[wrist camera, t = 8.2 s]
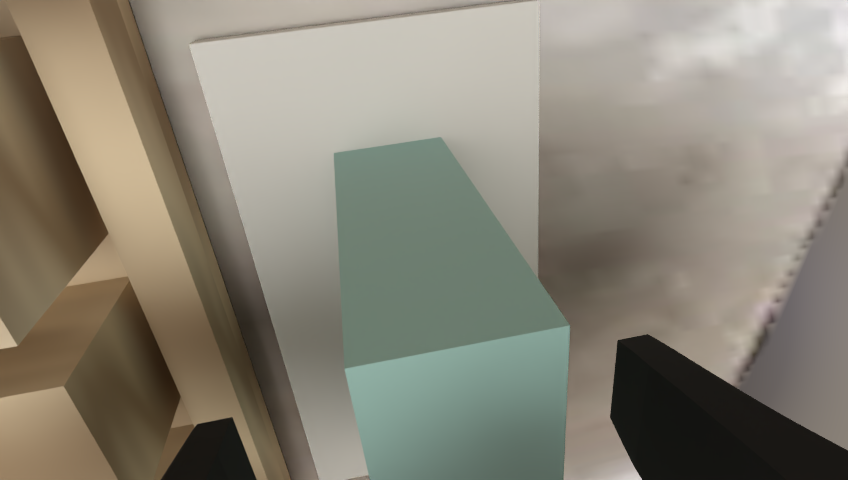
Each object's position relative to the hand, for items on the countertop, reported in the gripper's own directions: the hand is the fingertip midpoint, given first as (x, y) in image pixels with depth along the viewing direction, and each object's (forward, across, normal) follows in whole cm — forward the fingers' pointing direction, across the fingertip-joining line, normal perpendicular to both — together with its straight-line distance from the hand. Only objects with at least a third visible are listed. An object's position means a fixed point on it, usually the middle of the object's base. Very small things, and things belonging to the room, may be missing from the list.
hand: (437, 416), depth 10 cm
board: (+4, 0, 0) cm, 4 cm away
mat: (+5, 0, 0) cm, 5 cm away
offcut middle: (+4, +8, 0) cm, 9 cm away
